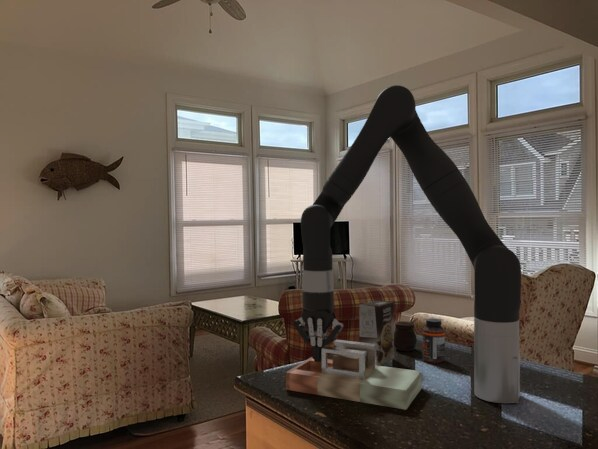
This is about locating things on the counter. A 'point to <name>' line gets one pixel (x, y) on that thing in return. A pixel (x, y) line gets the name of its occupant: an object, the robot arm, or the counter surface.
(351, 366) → the walnut block
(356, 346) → the tunnel
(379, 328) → the coffee box
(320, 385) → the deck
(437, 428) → the counter surface
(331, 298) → the robot arm
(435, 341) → the supplement bottle
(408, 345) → the mate gourd
